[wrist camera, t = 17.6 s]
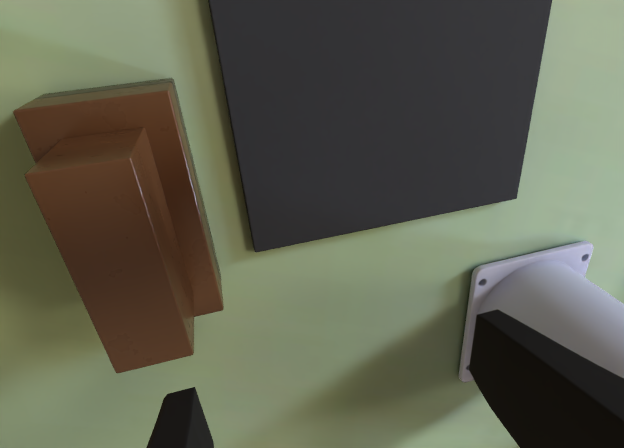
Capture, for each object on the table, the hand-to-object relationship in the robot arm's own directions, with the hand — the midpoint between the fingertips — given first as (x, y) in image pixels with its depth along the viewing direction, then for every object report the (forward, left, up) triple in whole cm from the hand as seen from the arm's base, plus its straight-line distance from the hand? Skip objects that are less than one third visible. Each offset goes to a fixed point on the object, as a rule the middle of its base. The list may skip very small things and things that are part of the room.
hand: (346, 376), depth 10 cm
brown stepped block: (+2, +5, -10) cm, 11 cm away
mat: (+7, -6, -10) cm, 13 cm away
